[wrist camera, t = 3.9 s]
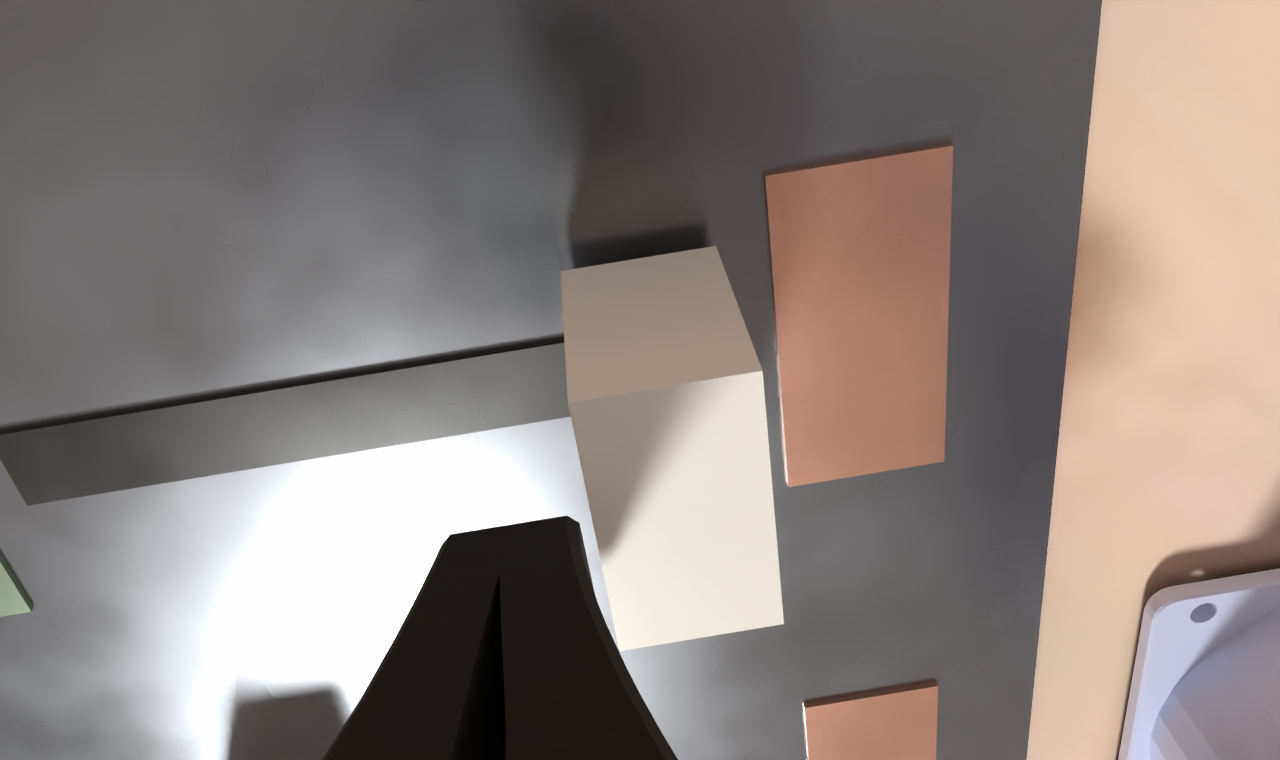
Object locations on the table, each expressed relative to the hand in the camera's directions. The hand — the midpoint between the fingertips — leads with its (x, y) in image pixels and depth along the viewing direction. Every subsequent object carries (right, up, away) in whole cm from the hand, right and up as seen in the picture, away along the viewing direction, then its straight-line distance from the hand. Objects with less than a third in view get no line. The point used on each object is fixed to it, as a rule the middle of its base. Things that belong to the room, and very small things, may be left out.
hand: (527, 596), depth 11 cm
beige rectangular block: (+1, +2, +3) cm, 4 cm away
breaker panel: (-2, -1, +8) cm, 8 cm away
